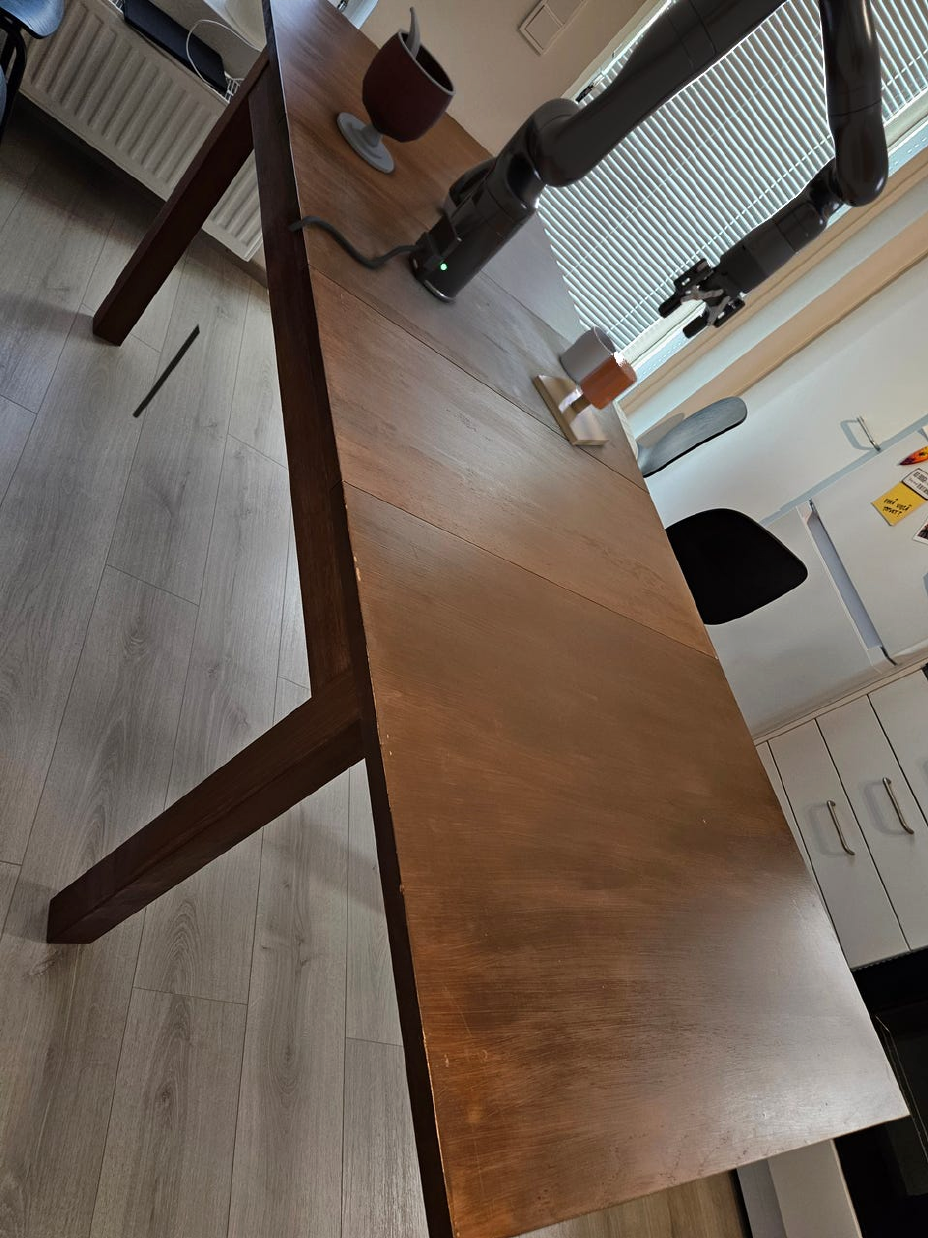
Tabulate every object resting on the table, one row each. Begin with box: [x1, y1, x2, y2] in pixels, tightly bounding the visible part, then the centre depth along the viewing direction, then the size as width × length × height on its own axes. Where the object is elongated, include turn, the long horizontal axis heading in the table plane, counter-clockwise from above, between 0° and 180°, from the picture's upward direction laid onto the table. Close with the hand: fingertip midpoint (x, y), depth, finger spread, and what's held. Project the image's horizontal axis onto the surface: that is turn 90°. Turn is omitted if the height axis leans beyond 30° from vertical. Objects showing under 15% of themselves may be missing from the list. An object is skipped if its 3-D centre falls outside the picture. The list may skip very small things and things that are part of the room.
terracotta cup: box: [579, 351, 638, 411], centre depth 144 cm, size 6×6×8 cm
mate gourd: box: [336, 6, 457, 174], centre depth 137 cm, size 16×14×20 cm
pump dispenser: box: [443, 155, 498, 214], centre depth 152 cm, size 10×10×15 cm
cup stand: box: [532, 374, 610, 446], centre depth 145 cm, size 14×14×13 cm
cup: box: [560, 325, 618, 384], centre depth 160 cm, size 7×10×9 cm
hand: (672, 324), depth 136 cm, fingers open, 8 cm apart
